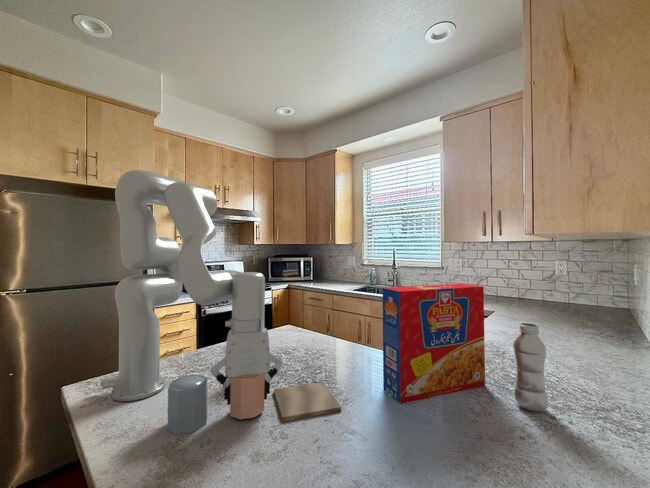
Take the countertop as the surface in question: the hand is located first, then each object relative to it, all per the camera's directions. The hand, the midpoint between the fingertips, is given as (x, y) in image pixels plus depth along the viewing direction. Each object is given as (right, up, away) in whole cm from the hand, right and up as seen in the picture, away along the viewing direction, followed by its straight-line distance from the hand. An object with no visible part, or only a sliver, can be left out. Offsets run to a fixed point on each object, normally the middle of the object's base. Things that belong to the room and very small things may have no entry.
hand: (247, 399), depth 69 cm
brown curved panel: (+13, -3, +5) cm, 15 cm away
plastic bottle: (+68, -3, +1) cm, 68 cm away
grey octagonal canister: (-12, -3, -4) cm, 13 cm away
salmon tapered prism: (0, -2, 0) cm, 2 cm away
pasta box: (+49, -4, +12) cm, 51 cm away
